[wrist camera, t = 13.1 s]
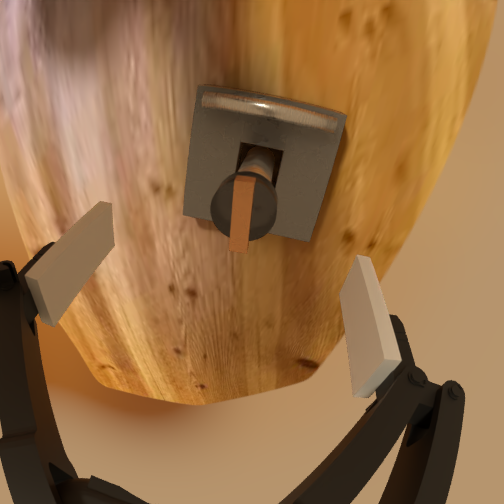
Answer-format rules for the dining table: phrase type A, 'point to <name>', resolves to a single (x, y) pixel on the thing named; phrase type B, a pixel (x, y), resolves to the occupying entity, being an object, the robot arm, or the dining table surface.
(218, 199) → the key
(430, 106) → the dining table surface
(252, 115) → the grey flat square block
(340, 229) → the dining table surface
